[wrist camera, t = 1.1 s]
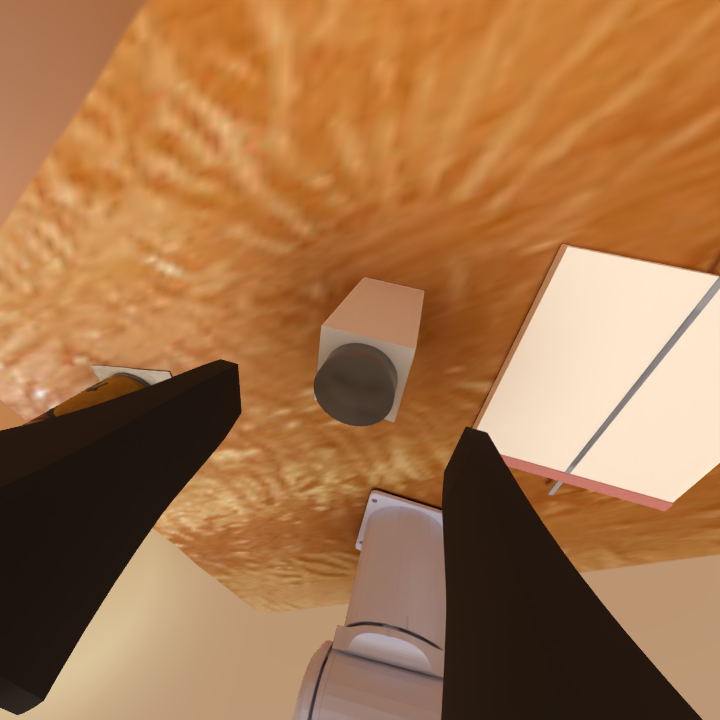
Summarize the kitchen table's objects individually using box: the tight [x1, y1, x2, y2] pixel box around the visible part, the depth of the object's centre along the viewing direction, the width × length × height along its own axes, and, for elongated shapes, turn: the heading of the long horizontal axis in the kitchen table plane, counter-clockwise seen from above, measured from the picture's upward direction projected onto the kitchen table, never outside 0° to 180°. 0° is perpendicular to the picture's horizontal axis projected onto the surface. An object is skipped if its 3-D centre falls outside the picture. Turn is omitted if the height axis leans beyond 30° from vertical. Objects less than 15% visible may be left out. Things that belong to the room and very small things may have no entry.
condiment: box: [22, 365, 171, 426], centre depth 23 cm, size 7×8×12 cm
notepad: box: [472, 244, 720, 511], centre depth 17 cm, size 17×13×1 cm
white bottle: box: [314, 277, 425, 426], centre depth 15 cm, size 4×4×9 cm
